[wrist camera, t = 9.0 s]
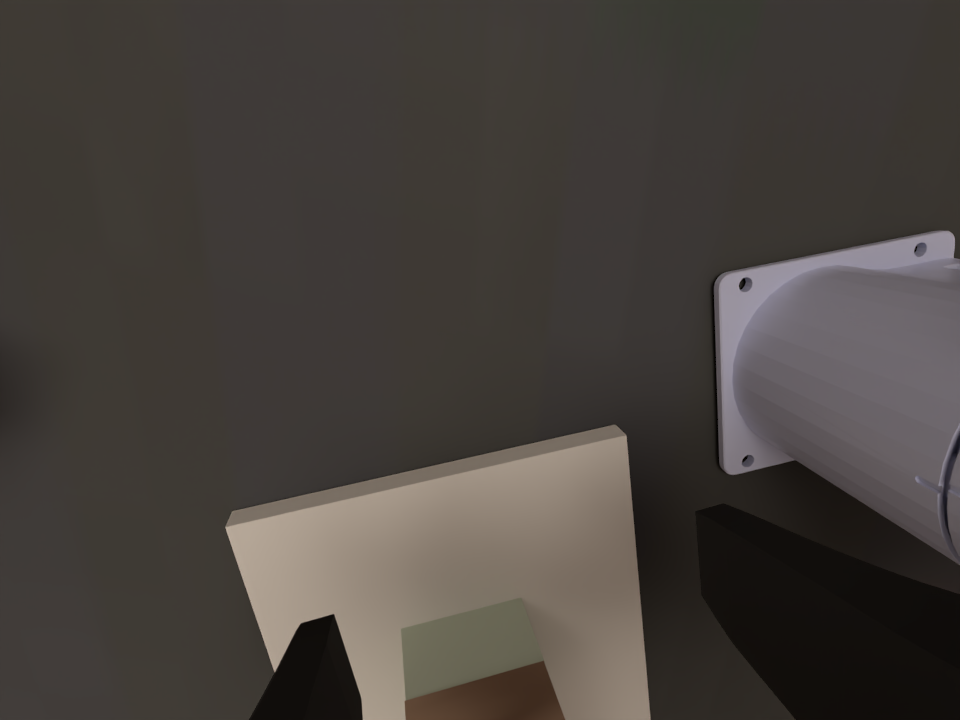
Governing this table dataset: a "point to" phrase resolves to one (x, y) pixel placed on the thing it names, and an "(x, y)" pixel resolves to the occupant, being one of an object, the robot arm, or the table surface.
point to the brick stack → (492, 698)
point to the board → (465, 575)
